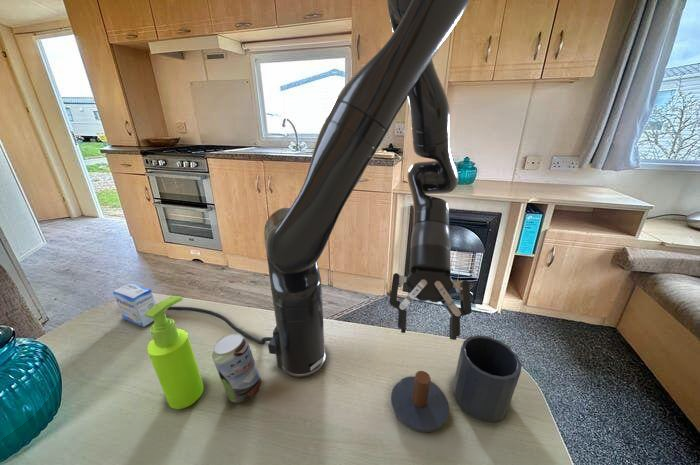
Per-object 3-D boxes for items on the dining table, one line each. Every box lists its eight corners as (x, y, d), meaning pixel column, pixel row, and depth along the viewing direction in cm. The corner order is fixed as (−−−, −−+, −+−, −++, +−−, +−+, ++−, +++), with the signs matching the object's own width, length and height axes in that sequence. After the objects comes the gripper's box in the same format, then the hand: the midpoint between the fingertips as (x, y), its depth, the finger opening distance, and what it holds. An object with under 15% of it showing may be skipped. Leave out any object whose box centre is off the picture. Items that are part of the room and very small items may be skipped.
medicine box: (123, 319, 70) (111, 291, 67) (140, 308, 74) (130, 281, 71) (143, 327, 68) (132, 299, 64) (161, 316, 72) (151, 288, 68)
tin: (457, 417, 48) (467, 374, 44) (449, 372, 56) (457, 332, 52) (514, 426, 47) (530, 383, 42) (497, 379, 55) (510, 339, 51)
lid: (389, 428, 46) (392, 399, 44) (392, 376, 55) (394, 349, 52) (451, 440, 45) (458, 410, 42) (443, 385, 54) (449, 357, 51)
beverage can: (251, 410, 49) (241, 361, 44) (215, 402, 50) (200, 353, 46) (268, 379, 55) (260, 332, 50) (234, 373, 56) (224, 327, 51)
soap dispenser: (214, 380, 55) (191, 297, 46) (185, 413, 49) (152, 325, 40) (191, 372, 56) (165, 290, 48) (160, 403, 50) (124, 316, 42)
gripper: (394, 239, 52) (387, 329, 46) (473, 245, 50) (477, 341, 44) (393, 251, 59) (387, 331, 53) (463, 257, 57) (464, 341, 51)
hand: (427, 336), depth 49 cm, fingers open, 8 cm apart
